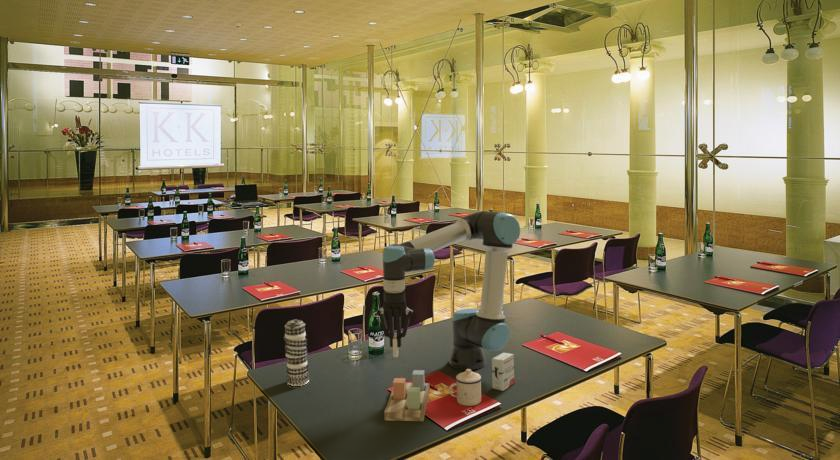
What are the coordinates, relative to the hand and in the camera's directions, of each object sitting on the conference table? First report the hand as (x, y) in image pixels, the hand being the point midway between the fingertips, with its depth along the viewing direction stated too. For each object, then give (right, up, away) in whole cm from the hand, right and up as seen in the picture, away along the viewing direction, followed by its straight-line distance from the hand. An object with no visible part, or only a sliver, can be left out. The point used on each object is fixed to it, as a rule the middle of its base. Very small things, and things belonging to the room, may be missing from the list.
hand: (395, 355), depth 198 cm
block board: (+5, -17, 0) cm, 18 cm away
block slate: (+8, -14, +7) cm, 17 cm away
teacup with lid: (+25, -17, +2) cm, 30 cm away
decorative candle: (-39, -16, +22) cm, 48 cm away
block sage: (+7, -16, -8) cm, 19 cm away
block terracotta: (+1, -15, 0) cm, 15 cm away
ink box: (+40, -15, +14) cm, 45 cm away
